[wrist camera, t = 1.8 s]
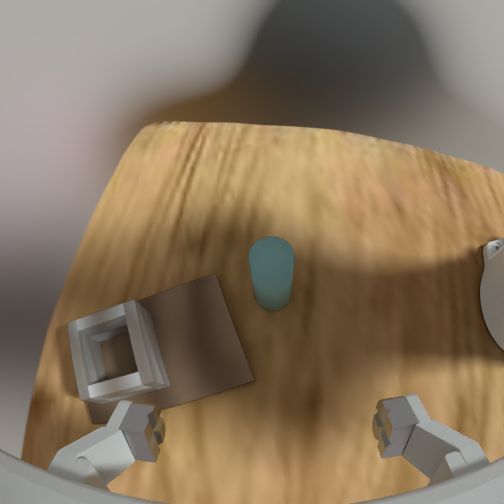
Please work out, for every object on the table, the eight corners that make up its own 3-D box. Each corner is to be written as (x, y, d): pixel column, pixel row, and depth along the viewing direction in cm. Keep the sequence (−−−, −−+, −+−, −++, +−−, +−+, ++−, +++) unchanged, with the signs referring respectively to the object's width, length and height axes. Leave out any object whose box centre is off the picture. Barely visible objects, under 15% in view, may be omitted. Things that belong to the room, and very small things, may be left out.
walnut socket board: (216, 277, 35) (206, 253, 30) (254, 380, 29) (250, 374, 24) (78, 326, 33) (51, 310, 28) (98, 424, 28) (69, 423, 23)
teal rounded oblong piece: (282, 272, 35) (283, 230, 27) (296, 302, 33) (302, 268, 26) (249, 284, 34) (241, 245, 27) (262, 315, 33) (257, 284, 25)
